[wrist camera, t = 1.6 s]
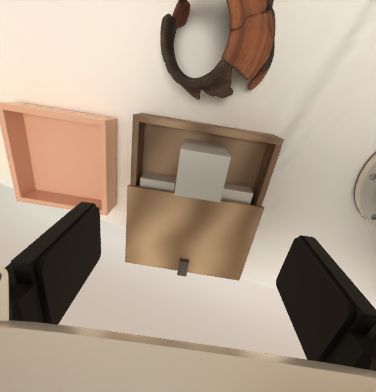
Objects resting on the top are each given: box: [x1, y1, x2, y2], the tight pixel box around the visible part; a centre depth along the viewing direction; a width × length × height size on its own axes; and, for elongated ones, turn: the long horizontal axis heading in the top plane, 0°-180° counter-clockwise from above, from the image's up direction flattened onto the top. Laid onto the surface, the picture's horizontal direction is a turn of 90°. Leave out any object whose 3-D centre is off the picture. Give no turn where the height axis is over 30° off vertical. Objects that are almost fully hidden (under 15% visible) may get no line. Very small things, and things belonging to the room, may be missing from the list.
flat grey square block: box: [140, 172, 177, 192], centre depth 25 cm, size 4×4×2 cm
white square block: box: [221, 183, 253, 204], centre depth 26 cm, size 4×4×2 cm
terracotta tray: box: [0, 102, 117, 215], centre depth 25 cm, size 11×11×3 cm
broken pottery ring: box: [160, 0, 275, 99], centre depth 18 cm, size 12×10×8 cm
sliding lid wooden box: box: [125, 113, 284, 280], centre depth 26 cm, size 16×19×4 cm
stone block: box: [174, 138, 231, 202], centre depth 22 cm, size 4×4×6 cm
